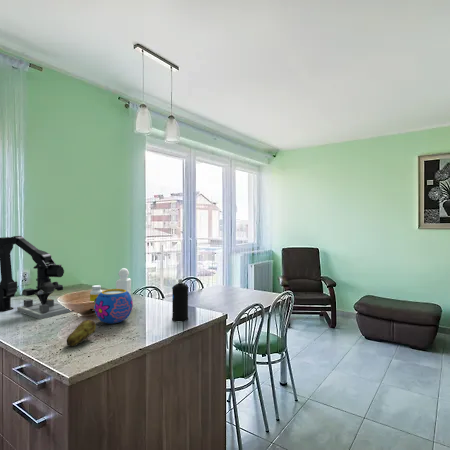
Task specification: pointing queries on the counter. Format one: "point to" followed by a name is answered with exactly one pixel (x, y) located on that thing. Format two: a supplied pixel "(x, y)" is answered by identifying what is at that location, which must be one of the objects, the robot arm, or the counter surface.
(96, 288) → the supplement bottle
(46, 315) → the panel
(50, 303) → the handle
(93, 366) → the counter surface
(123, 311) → the ceramic pot
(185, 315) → the aerosol can
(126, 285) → the white figurine
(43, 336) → the counter surface
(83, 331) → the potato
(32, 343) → the counter surface
